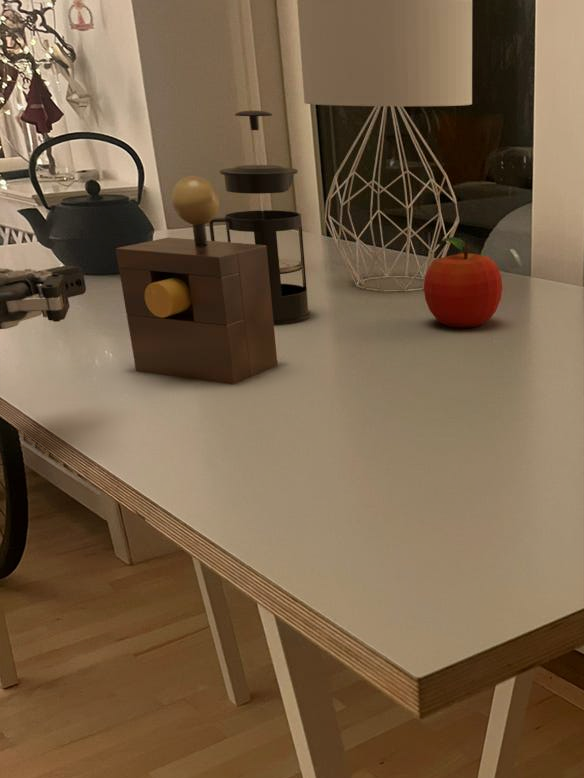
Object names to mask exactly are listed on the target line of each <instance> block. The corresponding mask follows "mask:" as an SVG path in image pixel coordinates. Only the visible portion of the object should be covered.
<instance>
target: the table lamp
mask: <svg viewBox="0 0 584 778" xmlns="http://www.w3.org/2000/svg"><path fill="white" fill-rule="evenodd" d="M296 5H297V17H298V31H299V32H298V33H299V45H300V46H299V47H300V61H301V74H302V89H303V102H304V104H306V105H317V106H345V107H346V106H347V107H373V109H372V111H371V112H370V114H369V116H368V117H367V119H366V121H365V123H364V125H363V126H362V128H361V130H360V132H359V133H358V135H357V137H356V138H355V140H354V141H353V144H352V145H351V147H350V148H349V150H348V152H347V154H346V155H345V157H344V159H343V161H342V162H341V164H340V166H339V167H338V169H337V171H336V173H335V175H334V176H333V180H332V182H331V186H330V188H329V191H328V195H327V197H326V201H325V210H324V222H325V225H326V227H327V230H328V231H329V233H330V236H331V237H332V240H333V242H334V244H335V246H336V248H337V250H338V252H339V254H340V256H341V258H342V260H343V262H344V265H345V267H346V269H347V270H348V273H349V274H350V276H351V279H352V280H353V283H354V285H355V286H356V287H357V288H360V289H363V290H367V291H376V292H413V291H419V290H420V291H421V290H424V282H425V276H426V274H427V271H428V268H429V267H430V265H431V264H432V263H433V261H434V260H435V259H438V258H443V257H447V254H448V251H449V248H450V246H451V244H452V243H450V242H449V241H446V244H445V245H444V247H443V248H442V249H441V250H440V252H439V254H438V255H437V256H436V257H435V252H436V251H437V249H438V248H439V247H440V246H441V244H440V245H439V243H438V239H439V236H440V232H441V229H443V234H444V237H443V238H442V239H441V240H443V239H444V238H451V237H455V233H456V230H457V228H458V225H459V224H460V216H459V210H458V203H457V197H456V195H455V192H454V190H453V188H452V185H451V182H450V179H449V176H448V175H447V173H446V171H445V169H444V168H443V166H442V165H441V163H440V161H439V160H438V159H437V157H436V155H435V154H434V153H433V151H432V149H431V148H430V146H429V145H428V143H427V141H426V140H425V139H424V137H423V135H422V134H421V132H420V131H419V129H418V128H417V126H416V124H415V123H414V122H413V119H412V118H411V117H410V116H409V115H410V114H408V112H407V110H406V108H404V107H455V106H456V107H457V106H459V107H460V106H470V105H473V0H296ZM382 107H383V108H382ZM388 107H390V110H391V117H392V122H393V128H394V134H395V135H394V136H395V139H396V140H395V141H396V146H397V151H398V158H399V165H400V170H401V174H400V175H399V176H398V177H397V178H395V179H394V180H393V181H391V182H390V183H389V184H387V185H386V186H384V187H383V186H382V185H381V181H380V180H381V168H382V159H383V149H384V140H385V129H386V121H387V112H388V111H387V110H388ZM395 107H396V108H397V110H398V112H399V114H400V117H401V118H402V121H403V123H404V126H405V127H406V130H407V132H408V134H409V136H410V139H411V140H412V143H413V145H414V147H415V149H416V151H417V154H418V157H419V159H420V161H421V162H422V164H423V167H424V169H425V172H426V173H427V176H428V178H429V180H428V181H427V182H426V183H425V182H424V181H422V180H421V179H420V178H419V177H418V176H416V175H414V173H412V172H411V171H410V170H409V168H408V163H407V158H406V153H405V149H404V145H403V140H402V135H401V132H400V126H399V123H398V118H397V113H396V109H395ZM381 108H382V109H383V110H382V116H381V121H380V122H381V123H380V126H379V127H380V128H379V133H378V142H377V147H376V155H375V161H374V167H373V173H372V179H371V181H369V182H367V181H366V180H365V179H364V178H363V177H362V176H360V174H359V173H358V172H356V170H357V168H358V166H359V163H360V161H361V158H362V155H363V153H364V150H365V148H366V146H367V143H368V141H369V138H370V135H371V133H372V131H373V128H374V125H375V123H376V120H377V118H378V115H379V112H380V110H381ZM370 120H371V122H370ZM408 121H409V122H408ZM369 122H370V124H369ZM409 123H410V124H411V126H412V127H413V129H414V131H415V132H416V133H417V135H418V136H419V139H420V140H421V142H422V143H423V145H424V146H425V148H426V149H427V151H428V153H429V154H430V156H431V157H432V159H433V160H434V162H435V164H436V165H437V167H438V168H439V170H440V172H441V173H442V175H443V179H442V181H441V185H439V184H438V183H437V182H436V179H435V176H434V173H433V170H432V168H431V166H430V165H429V163H428V161H427V158H426V156H425V153H424V152H423V150H422V148H421V147H420V144H419V142H418V140H417V138H416V136H415V134H414V132H413V130H412V127H411V126H410V124H409ZM368 124H369V127H368V129H367V131H366V133H365V136H364V139H363V141H362V143H361V145H360V148H359V149H358V153H357V155H356V157H355V160H354V161H353V163H352V166H351V168H350V172H349V173H348V176H347V178H346V179H345V180H343V182H342V183H341V184H340V185H339V184H338V183H339V182H338V178H339V175H340V172H341V171H342V169H343V168H344V166H345V164H346V162H347V160H348V159H349V157H350V155H351V153H352V151H353V150H354V148H355V146H356V144H357V143H358V142H359V140H360V137H361V136H362V134H363V132H364V131H365V129H366V127H367V126H368ZM399 142H400V143H399ZM380 145H381V146H380ZM400 147H401V148H400ZM379 151H380V152H379ZM401 152H402V154H401ZM379 153H380V156H379ZM402 156H403V159H402ZM378 158H379V165H378V177H377V178H378V179H377V181H375V177H376V170H377V164H378ZM403 160H404V165H405V169H406V170H405V171H404V166H403ZM406 174H407V181H408V189H409V200H410V203H409V201H408V194H407V193H408V192H407V184H406V178H405V175H406ZM355 175H356V177H358V178H359V179H360V180H361V181H363V182H364V183H365V184H366V185H364V186H363V187H362V188H360V189H359V190H358V191H357V192H355V193H354V194H353V195H352V196H351V193H352V188H353V183H354V179H355ZM410 175H411V176H412V177H413V178H415V179H416V180H417V181H418V182H419V183H420V184H422V185H423V187H422V188H421V190H420V191H419V192H418V193H417V195H416V196H414V198H413V194H412V186H411V179H410ZM401 177H402V181H403V189H404V199H405V204H404V203H403V202H402V201H400V200H399V199H398V198H397V197H396V196H394V195H393V194H392V193H390V191H388V190H387V189H388V188H390V186H392V185H393V184H394V183H395V182H397V181H398V180H399V179H401ZM350 178H351V181H350V185H349V190H348V189H347V188H348V184H349V180H350ZM445 181H446V183H447V186H448V188H449V192H450V194H451V196H450V194H449V193H447V192H446V191H445V189H443V186H444V184H445ZM430 184H431V187H432V188H431V187H430V186H429V185H430ZM344 185H345V186H344ZM375 185H376V186H377V190H376V189H375V188H374V186H375ZM343 186H344V191H343V194H342V196H341V193H340V189H341V188H342V187H343ZM367 187H369V188H370V189H371V193H370V194H371V195H370V208H369V211H370V212H369V221H368V223H367V224H366V225H365V227H363V229H362V231H361V232H360V234H359V235H358V236H357V233H356V230H355V226H354V223H353V220H352V215H351V213H350V205H351V203H350V202H351V200H353V199H354V198H355V197H356V196H357V195H358V194H360V193H361V192H363V191H364V190H365V189H366V188H367ZM335 188H336V190H335ZM426 188H427V189H428V190H430V191H431V192H432V193H433V194H434V198H435V201H436V205H437V212H438V213H437V214H436V215H434V216H433V217H432V218H431V219H430V220H428V221H427V222H426V223H424V224H423V225H422V226H421V227H419V228H418V229H417V230H416V231H414V229H412V223H413V211H414V210H413V208H414V207H413V205H414V203H415V202H416V201H417V199H418V198H419V197H420V196H421V194H422V193H423V191H425V189H426ZM380 189H381V190H380ZM438 189H439V190H438ZM334 190H335V191H334ZM347 190H348V194H347V197H348V198H347V200H345V197H346V192H347ZM374 192H375V193H376V195H377V210H376V212H375V213H374V214H373V202H374ZM383 192H385V193H386V194H388V195H389V196H390V197H391V198H392V199H394V200H395V201H396V202H398V203H399V204H400V205H402V207H404V208H405V209H406V219H407V220H406V222H407V223H406V224H407V227H406V228H404V229H403V230H402V228H400V227H399V226H398V225H397V224H396V223H395V222H394V221H393V220H392V219H391V218H389V217H388V216H387V215H386V214H385V213H384V212H383V211H381V210H380V194H381V193H383ZM441 192H442V193H443V194H444V195H446V197H448V199H450V200H451V201H452V202H453V203H454V206H455V212H456V217H455V220H454V223H453V225H452V227H451V228H450V229H449V231H448V232H447V231H446V228H445V223H444V219H443V215H442V208H441V200H440V195H441ZM336 194H338V195H337V196H338V198H339V203H340V216H339V222H338V221H337V220H336V219H335V218H333V216H331V200H332V198H334V196H335V195H336ZM346 204H347V214H348V217H349V221H350V225H351V228H352V231H353V232H351V231H350V230H349V229H348V228H347V227H346V226H345V225H343V207H344V206H345V205H346ZM409 209H410V213H409ZM409 214H410V215H409ZM377 215H378V223H379V231H380V240H381V241H380V242H381V247H382V248H380V249H379V250H378V251H377V247H376V241H375V236H374V230H373V221H374V219H375V217H376V216H377ZM381 215H382V216H383V217H385V218H386V220H388V221H389V222H390V223H391V224H392V225H393V226H394V227H395V228H397V229H398V230H399V233H398V234H397V235H396V236H395V237H393V238H392V239H391V240H390V241H388V242H387V243H386V244H385V245H384V239H383V229H382V221H381ZM327 218H328V221H329V222H328V221H327ZM436 218H437V221H436V225H435V229H434V233H433V236H432V240H431V244H430V245H428V244H427V243H426V242H425V241H424V240H423V239H422V238H421V237H420V236H419V235H418V233H419V232H420V231H422V230H423V229H424V228H425V227H426V226H427V225H428V224H430V223H431V222H432V221H434V220H435V219H436ZM334 223H335V224H337V225H338V226H339V230H338V231H337V229H336V227H335V225H334ZM329 224H330V225H329ZM438 226H439V227H438ZM368 227H370V234H371V239H372V245H373V250H372V249H371V248H370V247H369V245H367V244H365V243H364V242H363V241H362V240H361V239H360V238H361V236H362V235H363V234H364V232H365V231H366V230H367V228H368ZM406 231H407V232H406ZM345 232H346V233H347V234H348V235H350V236H351V237H352V238H353V239H354V240H355V246H356V247H355V248H356V249H355V250H356V251H355V253H356V258H355V256H354V253H353V252H352V251H353V250H352V249H351V246H350V243H349V241H348V238H347V235H346V233H345ZM446 232H447V233H446ZM341 234H343V237H344V240H345V242H346V245H347V248H348V250H349V253H350V256H351V258H352V260H353V263H354V266H355V268H356V271H355V269H354V268H353V265H352V263H351V261H350V258H349V256H348V255H347V252H346V250H345V248H344V246H343V243H342V241H341ZM401 235H404V236H405V237H406V242H405V244H404V245H403V247H402V249H401V250H400V252H399V254H398V255H397V257H396V258H395V260H394V262H393V264H392V265H391V267H390V269H389V268H388V267H387V263H386V261H387V260H386V253H385V249H386V248H387V247H388V246H390V244H392V243H393V242H395V240H396V239H398V238H399V237H400V236H401ZM414 236H415V237H416V238H418V240H419V241H420V242H421V243H422V244H423V245H424V246H425V247H426V248H427V249H428V250H429V251H428V255H427V258H426V260H425V261H424V262H423V263H422V265H421V266H420V263H419V260H418V257H417V253H416V250H415V248H414V244H413V241H412V238H413V237H414ZM448 236H449V237H448ZM340 247H341V248H340ZM361 248H362V249H361ZM410 249H412V251H413V255H414V258H415V261H416V265H417V267H418V270H417V271H416V272H415V274H414V275H413V276H408V270H409V258H410ZM362 250H363V251H364V252H365V253H366V254H367V256H368V257H369V259H371V260H372V262H371V266H370V269H369V270H368V268H367V265H366V261H365V258H364V255H363V253H362ZM368 250H369V251H370V252H371V253H372V254H373V255H374V257H372V256H371V254H370V253H369V252H368ZM404 250H405V256H404V257H405V259H404V271H403V275H393V274H392V270H393V269H394V267H395V266H396V263H397V261H399V259H400V257H401V255H402V253H403V252H404ZM381 252H382V256H383V260H382V259H381V258H380V256H379V254H380V253H381ZM359 254H360V256H361V259H362V263H363V265H364V269H365V272H366V275H367V278H365V279H363V276H362V273H361V271H360V268H359ZM440 256H441V257H440ZM379 262H380V263H381V265H382V266H383V267H384V270H383V269H382V268H381V266H380V264H379ZM374 266H376V269H377V272H378V276H375V277H373V276H372V277H371V275H372V272H373V268H374ZM423 268H424V269H423ZM422 269H423V272H422ZM381 273H382V274H381ZM419 273H420V276H421V277H418V275H419ZM382 275H383V276H382ZM383 278H385V279H386V278H392V279H393V280H394V282H395V283H396V285H398V287H399V288H400V289H384V286H383V281H382V279H383ZM396 278H403V285H401V284H400V283H399V282H398V281H397V279H396ZM406 278H408V279H410V281H409V282H408V283H407V284H406ZM375 279H379V282H380V288H381V289H378V288H368V284H369V282H370V280H375ZM415 279H417V280H418V279H419V280H423V281H422V285H421V287H419V288H410V289H409V288H408V287H409V286H410V285H411V284H412V283H413V281H414V280H415ZM365 281H366V283H365ZM359 283H360V284H361V285H359Z"/></svg>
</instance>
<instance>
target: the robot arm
mask: <svg viewBox="0 0 584 778" xmlns="http://www.w3.org/2000/svg"><path fill="white" fill-rule="evenodd" d="M86 291H87V286H86V281H85V275H84V270H83V269H82V267H80V266H73V265H60V266H57V267H56V266H55V267H51V268H47V269H42V270H34V269H31V268H26V269H24V270H19V269H18V270H13V269H9V268H0V330H7V329H11V328H14V327H15V328H16V327H17V326H18V325H19V324H20V322H23V321H27V320H29V319H34V318H37V317H39V316H42V317H43V318H47V320H48V321H50V322H51V321H53V322H54V323H55V322H56V323H57V322H61V321H62V320H65V319H66V317H67V314H68V312H69V309H70V301H69V298H73V297H76V296H81V295H84V294H85V293H86Z"/></svg>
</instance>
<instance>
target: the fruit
mask: <svg viewBox="0 0 584 778" xmlns="http://www.w3.org/2000/svg"><path fill="white" fill-rule="evenodd" d="M443 238H444V237H443ZM443 238H442V239H443ZM442 239H441V240H440V241H439V242H438V244H439V245H440V246H441V245H442V244H444V243H445V242H446V241H449V242H450V243H451V244H452V245H453V246H454V247H456V248H457V249H458V250H460V251H462V252H463V253H457V254H453V255H446V256H445V257H443V258H441V257H439V258H438V259H436V258H434V261H433V263H432V262H431V264H430V267H429V268H428V267H427V268H428V271H427V270H426V271H427V274H426V276H425V277H424V278H425V282H424V287H423V288H424V289H423V292H424V300H425V302H426V305H427V308H428V309H429V311H430V313H431V314H432V315H433V317H434V318H435V319H436V321H437V322H439V323H441V324H443V325H444V326H447V327H451V328H463V329H464V328H465V329H467V328H475V327H479V326H481V325H483V324H485V323H486V322H488V321H490V320H491V318H492V317H493V316H494V314H495V313H496V311H497V309H498V307H499V304H500V302H501V300H502V294H503V278H502V275H501V272H500V270H499V267H498V266H497V264H496V263H495V262H494V260H493V259H492V258H491V257H488V256H485V255H482V254H477V253H469V249H470V245H469V244H467V245H466V242H465V241H464V240H462V239H461V238H459V237H455V236H453V237H451V238H449V237H447V238H444V239H443V240H442Z"/></svg>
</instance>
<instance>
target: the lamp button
mask: <svg viewBox="0 0 584 778" xmlns="http://www.w3.org/2000/svg"><path fill="white" fill-rule="evenodd" d="M145 302H146V305H147V307H148V308H149V310H150V311H151V312H152V313H153V314H154V315H156V316H158V317H161V318H163V317H167V316H171V315H174V314H177V313H180V312H183V311H186V310H187V309H188V308H189V307H190V304H191V293H190V290H189V288H188V286H187V285H186V284H185V283H184V282H183V281H182V280H181V279H178V278H170V279H166V280H162V281H158V282H154V283H151V284H149V285H148V286H147V288H146V290H145Z"/></svg>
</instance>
